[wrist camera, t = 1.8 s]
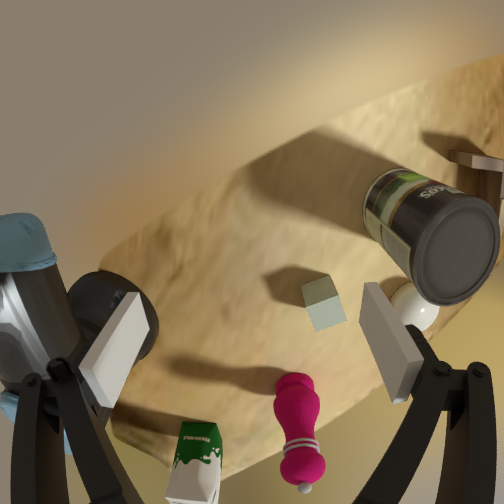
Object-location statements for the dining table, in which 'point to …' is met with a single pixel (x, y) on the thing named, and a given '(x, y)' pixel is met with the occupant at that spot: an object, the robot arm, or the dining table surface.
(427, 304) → the white glossy round part
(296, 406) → the pepper mill
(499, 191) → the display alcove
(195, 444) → the milk carton
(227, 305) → the dining table surface
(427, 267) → the coffee can
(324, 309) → the sage block
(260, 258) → the dining table surface
